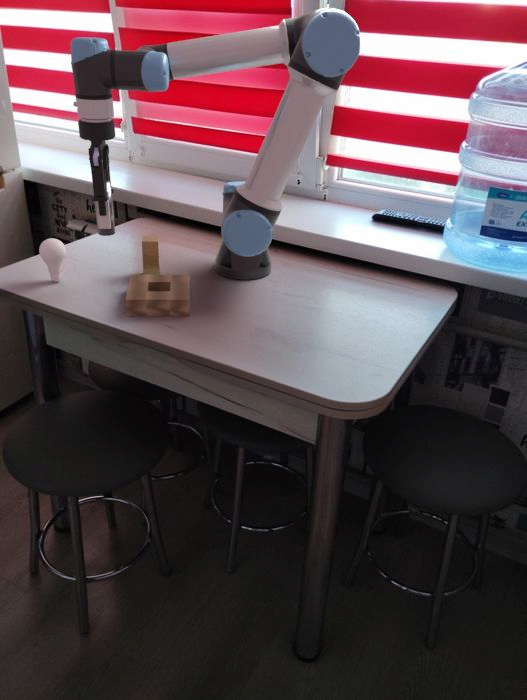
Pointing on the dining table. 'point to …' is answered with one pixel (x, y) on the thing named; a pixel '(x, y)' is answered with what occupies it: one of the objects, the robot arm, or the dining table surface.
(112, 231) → the cylinder
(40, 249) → the lightbulb
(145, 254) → the square bit
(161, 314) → the socket block
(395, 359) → the dining table surface
